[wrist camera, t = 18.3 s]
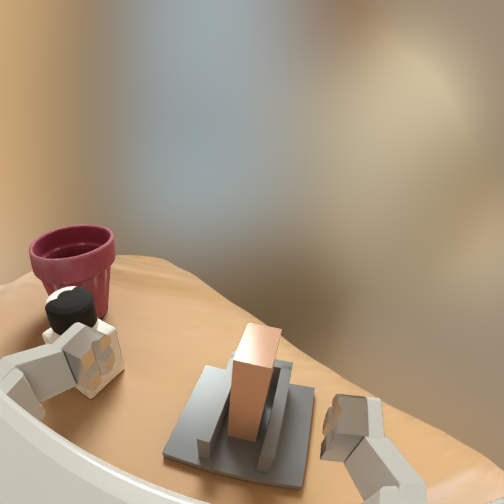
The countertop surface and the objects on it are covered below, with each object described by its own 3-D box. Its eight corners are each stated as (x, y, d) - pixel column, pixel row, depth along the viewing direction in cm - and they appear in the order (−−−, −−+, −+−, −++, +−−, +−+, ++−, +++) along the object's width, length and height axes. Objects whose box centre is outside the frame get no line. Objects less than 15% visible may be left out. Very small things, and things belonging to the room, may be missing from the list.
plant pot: (78, 281, 51) (69, 219, 46) (136, 297, 49) (130, 228, 44) (32, 320, 38) (12, 250, 33) (92, 347, 36) (72, 268, 31)
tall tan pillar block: (227, 435, 27) (233, 359, 22) (239, 401, 31) (248, 322, 26) (255, 442, 26) (271, 368, 21) (264, 407, 31) (281, 329, 26)
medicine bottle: (126, 368, 34) (109, 292, 29) (91, 401, 28) (61, 324, 23) (91, 346, 37) (72, 273, 32) (57, 373, 30) (28, 299, 25)
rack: (163, 456, 24) (156, 434, 22) (206, 370, 36) (206, 342, 34) (299, 489, 22) (312, 472, 20) (312, 392, 34) (322, 366, 32)
